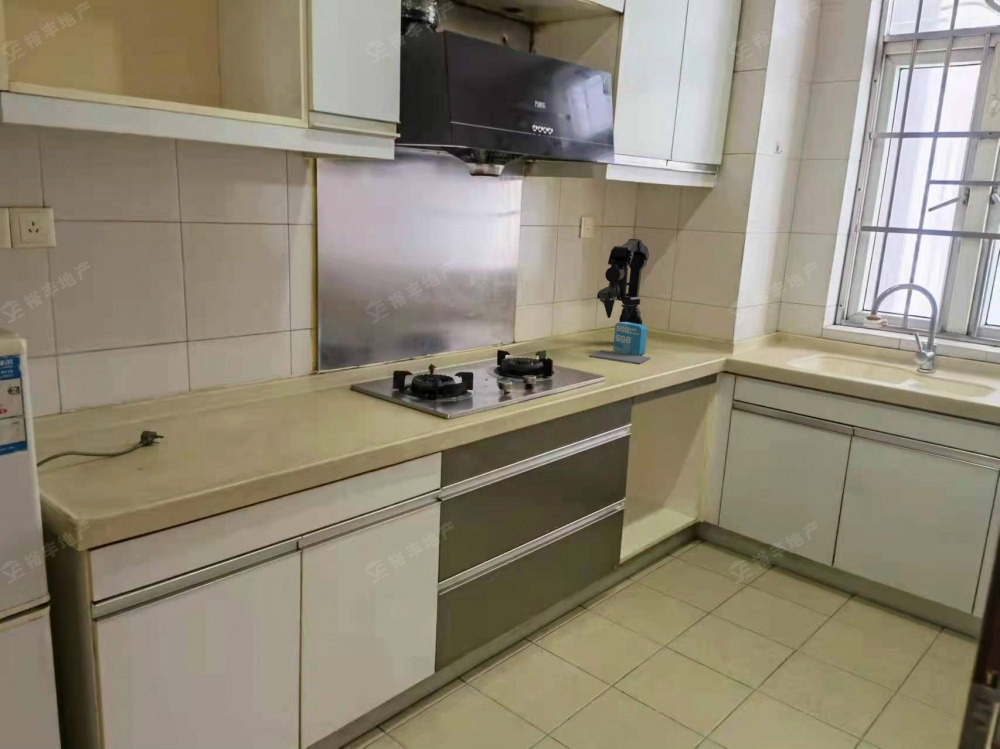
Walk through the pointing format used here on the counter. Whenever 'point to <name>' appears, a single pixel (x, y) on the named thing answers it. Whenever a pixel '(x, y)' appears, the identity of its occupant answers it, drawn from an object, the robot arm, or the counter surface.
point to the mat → (620, 357)
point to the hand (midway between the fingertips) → (616, 319)
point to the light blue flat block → (630, 338)
